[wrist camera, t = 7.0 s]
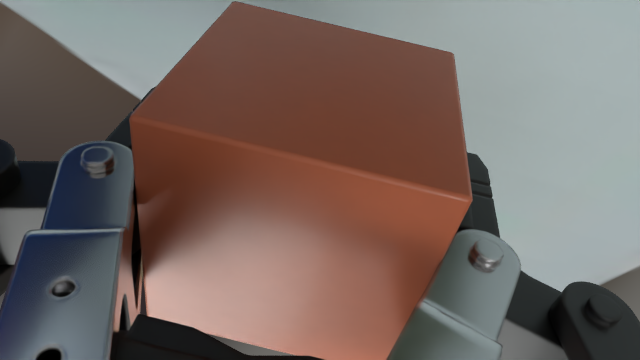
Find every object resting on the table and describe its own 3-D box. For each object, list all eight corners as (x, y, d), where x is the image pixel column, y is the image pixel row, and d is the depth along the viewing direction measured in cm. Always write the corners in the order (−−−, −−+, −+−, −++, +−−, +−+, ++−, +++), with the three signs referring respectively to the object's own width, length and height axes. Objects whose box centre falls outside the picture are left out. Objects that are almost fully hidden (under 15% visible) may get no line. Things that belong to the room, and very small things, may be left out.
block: (222, 172, 14) (145, 320, 10) (232, -2, 11) (126, 116, 7) (393, 214, 14) (383, 378, 10) (455, 52, 11) (475, 199, 7)
